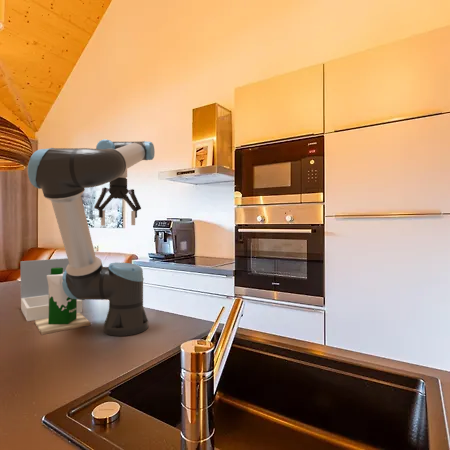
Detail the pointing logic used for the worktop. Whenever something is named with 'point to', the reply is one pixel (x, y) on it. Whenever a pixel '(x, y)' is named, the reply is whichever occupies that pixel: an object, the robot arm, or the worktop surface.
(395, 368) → the worktop surface
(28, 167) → the robot arm
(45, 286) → the equipment case
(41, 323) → the wooden mat
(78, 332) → the worktop surface
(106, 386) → the worktop surface
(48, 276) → the soya milk
